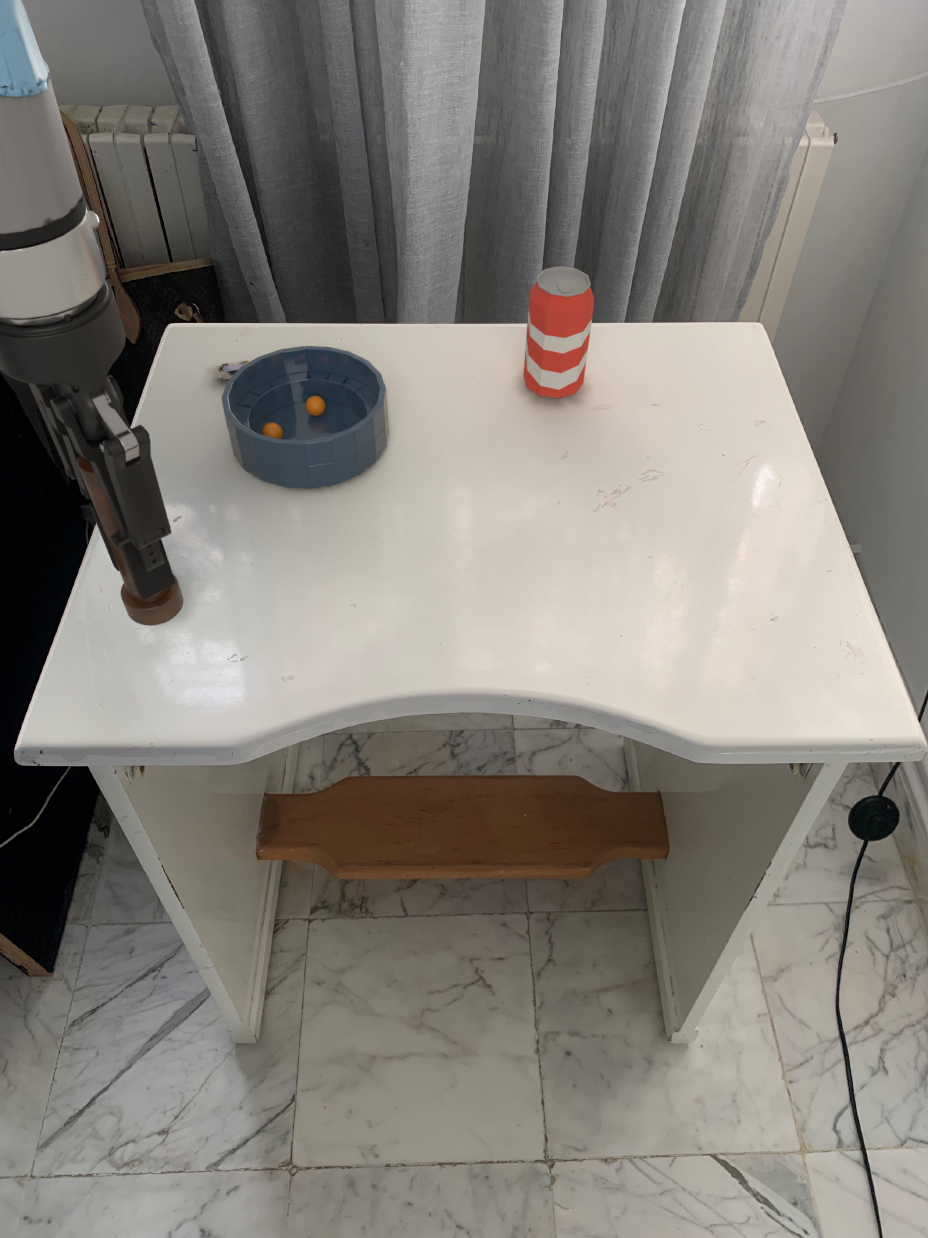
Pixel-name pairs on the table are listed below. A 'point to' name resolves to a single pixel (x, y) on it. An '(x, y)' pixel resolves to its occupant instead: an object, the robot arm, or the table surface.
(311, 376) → the bowl
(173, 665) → the table surface
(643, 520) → the table surface
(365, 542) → the table surface
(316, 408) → the bead
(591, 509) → the table surface
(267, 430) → the bead
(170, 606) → the brown cylinder
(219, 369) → the granola bar
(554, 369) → the beverage can
